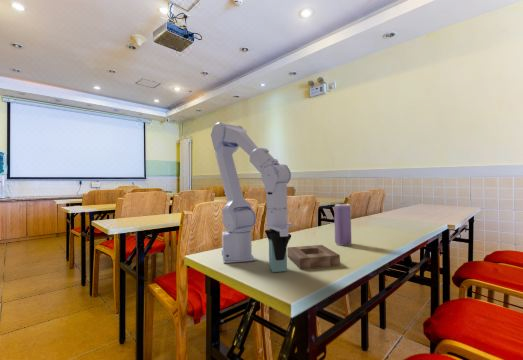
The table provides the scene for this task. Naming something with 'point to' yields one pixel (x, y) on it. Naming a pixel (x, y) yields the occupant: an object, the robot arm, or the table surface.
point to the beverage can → (342, 224)
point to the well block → (313, 256)
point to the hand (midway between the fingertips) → (277, 257)
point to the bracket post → (276, 264)
